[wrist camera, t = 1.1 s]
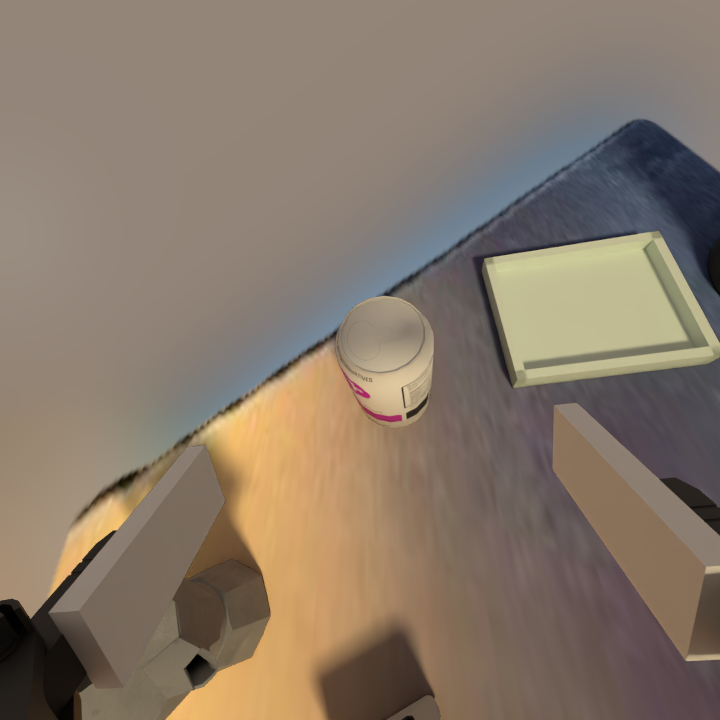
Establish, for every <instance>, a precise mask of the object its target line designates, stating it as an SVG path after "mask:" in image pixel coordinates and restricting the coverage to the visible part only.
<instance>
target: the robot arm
mask: <svg viewBox="0 0 720 720" xmlns="http://www.w3.org/2000/svg"><path fill="white" fill-rule="evenodd" d="M708 269H709V274H710V277H711V279H712V282H713V284H714V286H715V287H716V289H717V290H718V292H719V293H720V239H719V240H718V241H717V242H716V243H715V244H714V246H713V247H712V249H711V251H710V254H709V259H708ZM553 471H554V472H555V473H556V475H557V476H558V478H559V479H560V481H561V482H562V483H563V485H564V486H565V488H566V489H567V491H568V492H569V494H570V495H571V496H572V498H573V499H574V501H575V502H576V504H577V505H578V506H579V508H580V509H581V511H582V512H583V514H584V515H585V517H586V518H587V519H588V521H589V522H590V524H591V525H592V527H593V528H594V529H595V531H596V532H597V534H598V535H599V537H600V538H601V540H602V541H603V542H604V544H605V545H606V547H607V548H608V550H609V551H610V553H611V554H612V555H613V557H614V558H615V560H616V561H617V563H618V564H619V565H620V567H621V568H622V570H623V571H624V573H625V574H626V576H627V577H628V578H629V580H630V581H631V583H632V584H633V586H634V587H635V588H636V590H637V591H638V593H639V594H640V596H641V597H642V599H643V600H644V601H645V603H646V604H647V606H648V607H649V609H650V610H651V612H652V613H653V614H654V616H655V617H656V619H657V620H658V622H659V623H660V624H661V626H662V627H663V629H664V630H665V632H666V633H667V635H668V636H669V637H670V639H671V640H672V642H673V643H674V645H675V646H676V647H677V649H678V650H679V652H680V653H681V655H682V656H683V658H684V659H685V660H686V661H697V660H718V659H720V508H718V507H717V506H716V504H715V503H714V502H713V501H712V500H710V499H709V498H708V497H707V496H706V495H705V494H703V493H702V492H701V491H700V490H699V489H697V488H695V487H693V486H691V485H689V484H687V483H685V482H683V481H681V480H679V479H677V478H667V479H658V478H657V477H656V476H655V475H654V474H653V473H652V472H651V471H649V470H648V469H647V468H646V467H645V466H644V465H643V464H642V463H641V462H640V461H639V460H638V459H637V458H636V457H634V456H633V455H632V454H631V453H630V452H629V451H628V450H627V449H626V448H625V447H624V446H623V445H622V444H620V443H619V442H618V441H617V440H616V439H615V438H614V437H613V436H612V435H611V434H610V433H609V432H608V431H606V430H605V429H604V428H603V427H602V426H601V425H600V424H599V423H598V422H597V421H596V420H595V419H594V418H592V417H591V416H590V415H589V414H588V413H587V412H586V411H585V410H584V409H583V408H582V407H581V406H580V405H578V404H577V403H571V404H562V405H554V437H553ZM224 503H225V499H224V496H223V493H222V490H221V487H220V484H219V482H218V479H217V476H216V473H215V470H214V467H213V464H212V461H211V459H210V456H209V453H208V450H207V447H206V445H201V446H192V447H187V448H186V449H185V450H184V452H183V453H182V454H181V455H180V456H179V458H178V459H177V460H176V461H175V462H174V463H173V465H172V466H171V467H170V468H169V469H168V471H167V472H166V473H165V474H164V475H163V477H162V478H161V479H160V480H159V481H158V483H157V484H156V485H155V486H154V487H153V489H152V490H151V491H150V492H149V493H148V494H147V496H146V497H145V498H144V499H143V500H142V502H141V503H140V504H139V505H138V506H137V508H136V509H135V510H134V511H133V512H132V514H131V515H130V516H129V517H128V518H127V520H126V521H125V522H124V523H123V524H122V525H121V527H120V528H119V529H118V530H116V531H112V532H111V533H109V534H108V535H107V536H106V537H104V538H103V539H102V540H101V541H99V542H98V543H97V544H95V546H94V547H93V548H92V549H91V550H90V551H89V552H88V554H87V555H86V556H85V557H84V558H83V559H82V562H81V563H79V564H78V565H77V566H76V567H75V569H74V570H73V571H72V572H71V575H68V577H67V578H66V579H65V580H64V581H63V582H62V584H61V585H60V586H59V587H58V588H57V589H56V590H55V592H54V593H53V594H52V595H51V596H50V597H49V598H48V600H47V601H46V602H45V603H44V604H43V605H42V607H41V608H40V609H39V610H38V611H37V612H36V613H35V615H34V616H33V617H32V618H31V619H30V618H29V616H28V615H27V613H26V612H25V610H24V608H23V607H22V605H21V604H20V602H19V601H17V600H14V599H8V600H2V601H0V720H82V703H81V697H80V694H79V692H78V691H77V688H78V687H79V685H80V683H81V682H82V680H83V679H84V677H85V676H86V674H87V676H88V677H89V679H90V680H91V682H92V684H93V685H94V687H95V688H96V689H111V688H124V687H125V685H126V683H127V682H128V680H129V678H130V676H131V674H132V672H133V671H134V669H135V667H136V665H137V663H138V661H139V660H140V658H141V656H142V654H143V652H144V650H145V648H146V647H147V645H148V643H149V641H150V639H151V637H152V636H153V634H154V632H155V630H156V628H157V626H158V625H159V623H160V621H161V619H162V617H163V615H164V613H165V612H166V610H167V608H168V606H169V604H170V602H171V601H172V599H173V597H174V595H175V593H176V591H177V589H178V588H179V586H180V584H181V582H182V580H183V578H184V577H185V575H186V573H187V571H188V569H189V567H190V566H191V564H192V562H193V560H194V558H195V556H196V554H197V553H198V551H199V549H200V547H201V545H202V543H203V542H204V540H205V538H206V536H207V534H208V532H209V531H210V529H211V527H212V525H213V523H214V521H215V519H216V518H217V516H218V514H219V512H220V510H221V508H222V507H223V505H224Z"/></svg>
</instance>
